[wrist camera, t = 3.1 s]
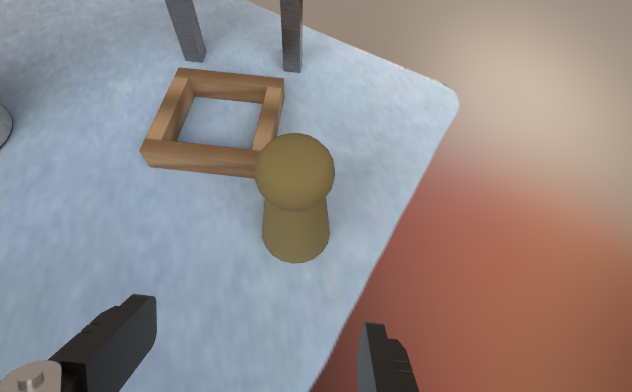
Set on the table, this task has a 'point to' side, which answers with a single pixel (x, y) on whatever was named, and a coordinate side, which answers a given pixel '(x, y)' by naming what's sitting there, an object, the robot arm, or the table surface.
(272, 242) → the cork
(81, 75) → the table surface
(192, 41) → the mint green stool
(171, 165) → the socket
